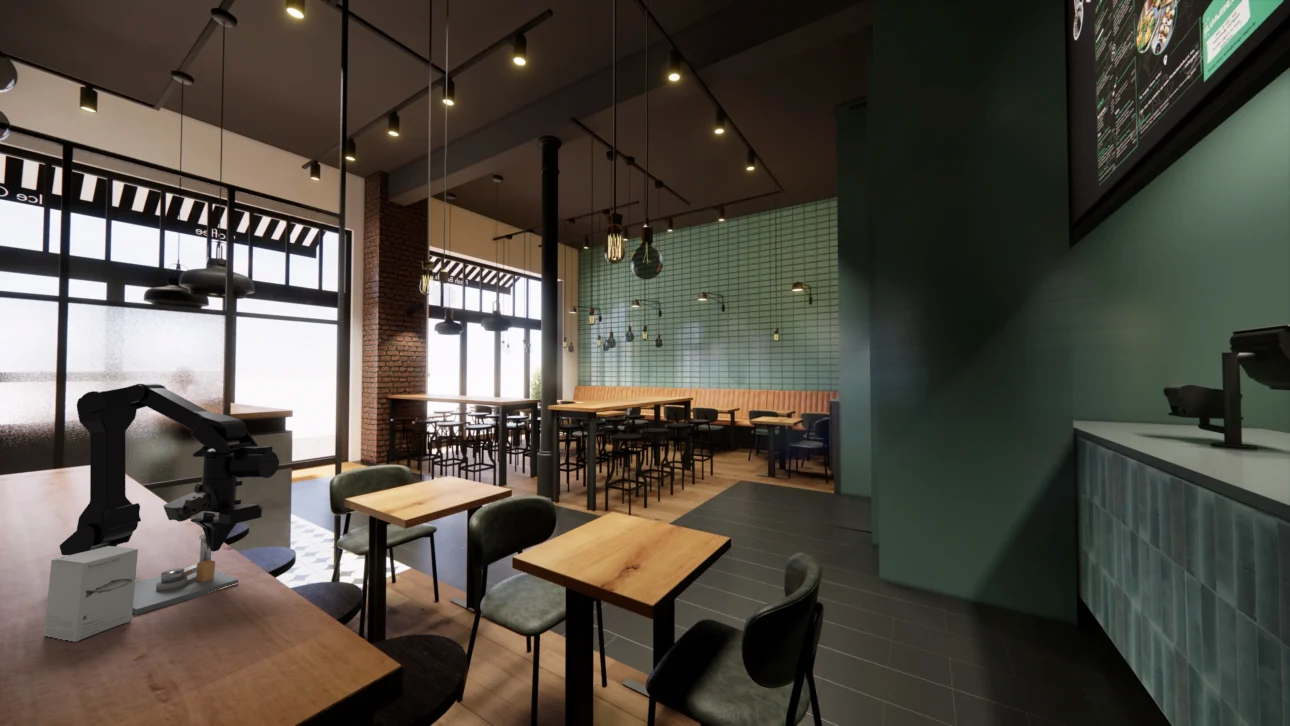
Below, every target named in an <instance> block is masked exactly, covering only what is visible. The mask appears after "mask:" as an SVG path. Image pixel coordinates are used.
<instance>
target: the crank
mask: <svg viewBox="0 0 1290 726" xmlns="http://www.w3.org/2000/svg"><path fill="white" fill-rule="evenodd" d="M198 540H200V547H199V548H200V551H199V562H198V563H200V562H203V561H207V560H212V551H211V550H210V547H209V544H208V541H207V538H206V536H205V533H203V534H200V535H199V539H198ZM195 572H197V563H195V564H192V565H189V566H187V567H185V568H183V567H179V568H172V569H167V570H164V571H163V572H161V575H160V576H161V583H172V582H176V581H180V580H182V579H183V578H184V577H185V576H188V575H190V574H193V573H195Z"/></svg>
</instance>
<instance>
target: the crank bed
mask: <svg viewBox="0 0 1290 726" xmlns="http://www.w3.org/2000/svg"><path fill="white" fill-rule="evenodd" d="M196 564H197V572H195V573H193V574H190V575H188V576H185V577H184V578H183V579H182V580H180V581H176V582H172V583H161V575H157V576H154V577H149V578H146V579H142V580H139V581H135V588H134V599H133V611H132V615H135V616H137V615H140V614H143V613H147V612H150V611H154V610H157V609H160V608H165V607H167V606H171V605H173V604H176V603H181V602H183V601H188V600H190V599H193V598H197V597H200V595H201V596H205V595H207V594H210V593H209V592H211V593H213V592H212V591H214V592H216V591H215V590H217V591H219V590H218V589H220V588H223V587H225V586H229V585H232V584H235V583H238V584H239V579H238V578H236V577H233V576H231V575H228V574H226V573H223V572H221V571H218V570H216V568H215V567H216V560H212V559H211V560H207V561H203V562H200V563H199V562H197V563H196ZM196 596H197V597H196Z"/></svg>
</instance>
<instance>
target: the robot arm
mask: <svg viewBox="0 0 1290 726" xmlns="http://www.w3.org/2000/svg"><path fill="white" fill-rule="evenodd" d="M146 407H147V408H149V409H152V410H153V411H155V412H157V413H159V414H161V415H162V416H164V417H166V418H168V419H169V420H172V421H174V422H175V423H178V424H179V425H181V426H184V427H185V428H186V429H187V430H188V431H189V433H190V435H191V437H192V438H193V439H195V440H196V441H197V442H198V443H199V444H201V445H202V447H201V448H199V449H198V450H197V451H195V452H194V453H192V456H193V457H194V458H203V461H202V463H203V464H202V478H201V483H200V482H199V483H198V482H197V483H196V485H195V486H194V488H193V492H191V493H188V494H186V495H183V496H180V497H179V498H176V499H174V500H172V501H169V502H167V503H166V504H164V505H163V509H164V511H165V514H166V516H167V518H168V520H169V521H177V522H180V523H181V522H184V521H187V520H189V519H191V518H192V517H193V516H194V518H192V519H191V520H190V522H192V523H194V524H195V525H198V526H200V527H201V528H202V531H203V534H205V536H206V538H207V541H208V544H209V547H210V550H211V552H213V553H214V552H219V550H221V547H222V546H223V544H224V542H225V541H226V539H228V537H229V534H230V533H231V532H232V530H233V529H234V528H235V526H236V525H237V524H239V523H243V522H248V521H252V520H256V519H260V518H262V517H263V511H264V510H263V509H264V508H263V507H262V506H261V505H260V504H256V503H248V502H247V503H242V499H241V498H237V492H238V487H239V486H242V485H243V480H242V478H243V479H247V478H248V479H253V478H254V479H269V478H271V477H273V476H274V475H275V474H276V472H277V471H278V469H279V465H280V459H279V457H278V455H277V454H276V452H274V451H273V446H272V445H267V446H259V445H258V443H257V441H255V439H254V438H253V437H252V435H251V433H250V432H249V431H248V429H247V423H245V422H244V421H243V420H242V419H239V418H237V417H233V416H230V415H228V414H221V413H217V412H212V411H210V410H207V409H205V408H203V407H201V406H200V405H197V404H196V403H193V402H192V401H191V400H188V399H186V398H185V397H183V396H181V395H178V394H176V393H175V392H173V391H171V390H169V389H168V388H166V386H164V385H162V384H159V383H137V384H133V385H130V386H126V387H122V388H116V389H111V390H105V391H103V390H102V391H101V390H97V391H95V390H93V391H92V390H91V391H87V392H86V393H84V394H83V395H82V396H81V397H79V398H78V399H77V402H76V409H77V415H78V420H79V423H80V424H81V425H82V426H83V428H85V430H87V432H88V433H89V435H90V436H89V437H90V439H89V440H90V441H89V442H90V443H89V444H90V446H89V449H90V451H89V452H90V461H89V462H90V463H89V466H90V467H89V468H90V471H89V473H90V475H89V477H90V480H89V483H90V485H89V491H90V494H89V495H90V496H89V499H90V500H89V503H88V504H87V506H86V507H85V509H84V510H83V511H82V512H81V514H80V515H79V517H78V520H77V527H76V531H74V532H73V533H72V534H71V535H70V536H69V537H67V538H66V539H65V540H64V541H63V542H62V543H61V544H59V550H60V553H61V555H62V556H69V555H73V554H77V553H82V552H86V551H90V550H94V549H98V548H102V547H106V546H115V547H118V546H119V545H122V544H124V543H125V544H127V543H129V541H130V540H131V537H132V536H133V533H134V532H135V531H136V530H137V528H138V525H139V523H141V521H142V520H141V517H140V509H141V505H140V503H137V502H136V503H132V502H131V501H130V500H129V499H128V498H127V496H126V432H127V430H128V428H129V427H130V425H132V423H133V422H134V420H135V419H136V416H137V412H138V411H137V410H139V409H143V408H146ZM240 479H241V480H240Z"/></svg>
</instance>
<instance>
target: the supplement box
mask: <svg viewBox="0 0 1290 726" xmlns="http://www.w3.org/2000/svg"><path fill="white" fill-rule="evenodd" d="M138 551H139V549H138V548H133V547H125V546H124V547H123V546H117V547H115V546H106V547H102V548H98V549H94V550H90V551H86V552H82V553H77V554H73V555H64V556H62V557H61V556H60V557H58V558H54V559H51V560H50V572H49V583H48V593H47V600H46V601H47V602H46V603H47V604H46V612H45V613H46V614H45V622H44V631H43V636H49V637H54V638H58V639H57V640H60V639H62V640H61V641H65V640H68V641H67V642H70V641H73V643H78V642H79V641H81V640H83V639H86V638H88V637H91V636H93V635H95V634H99V633H102V632H104V631H107V630H110V629H113V628H116V627H118V626H121V625H123V624H126V623H129V622H131V621H132V619H133V613H132V611H133V599H134V588H135V582H136V578H137V577H136V575H137V566H138V565H137V564H138V556H139V555H138V553H139V552H138ZM49 637H48V638H49ZM54 638H53V639H54Z"/></svg>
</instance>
